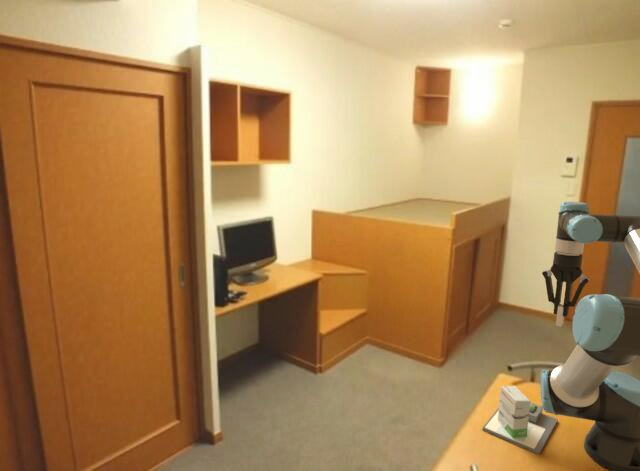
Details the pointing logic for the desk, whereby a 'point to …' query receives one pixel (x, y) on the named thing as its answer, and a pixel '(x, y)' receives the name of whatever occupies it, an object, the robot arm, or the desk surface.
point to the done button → (532, 408)
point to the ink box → (513, 411)
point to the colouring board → (536, 432)
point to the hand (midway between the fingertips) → (559, 324)
